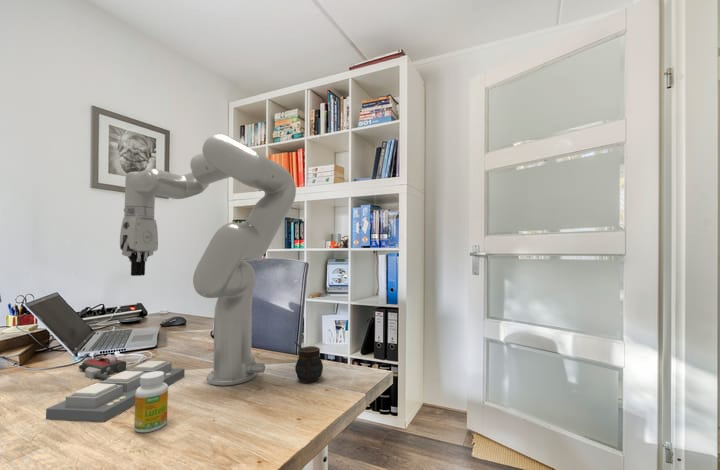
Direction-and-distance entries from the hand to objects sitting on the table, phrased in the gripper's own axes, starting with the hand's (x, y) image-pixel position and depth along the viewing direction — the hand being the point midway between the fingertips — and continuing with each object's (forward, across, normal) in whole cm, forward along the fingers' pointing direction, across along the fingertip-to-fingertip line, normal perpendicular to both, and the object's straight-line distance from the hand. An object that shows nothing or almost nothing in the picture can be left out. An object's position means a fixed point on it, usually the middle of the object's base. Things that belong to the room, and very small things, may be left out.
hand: (137, 275), depth 99 cm
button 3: (+25, -25, -12) cm, 37 cm away
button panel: (+27, -17, -12) cm, 34 cm away
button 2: (+24, -17, -12) cm, 32 cm away
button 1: (+25, -9, -12) cm, 29 cm away
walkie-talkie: (+28, -4, +6) cm, 29 cm away
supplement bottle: (+27, -30, -29) cm, 50 cm away
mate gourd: (+27, -4, -53) cm, 60 cm away
